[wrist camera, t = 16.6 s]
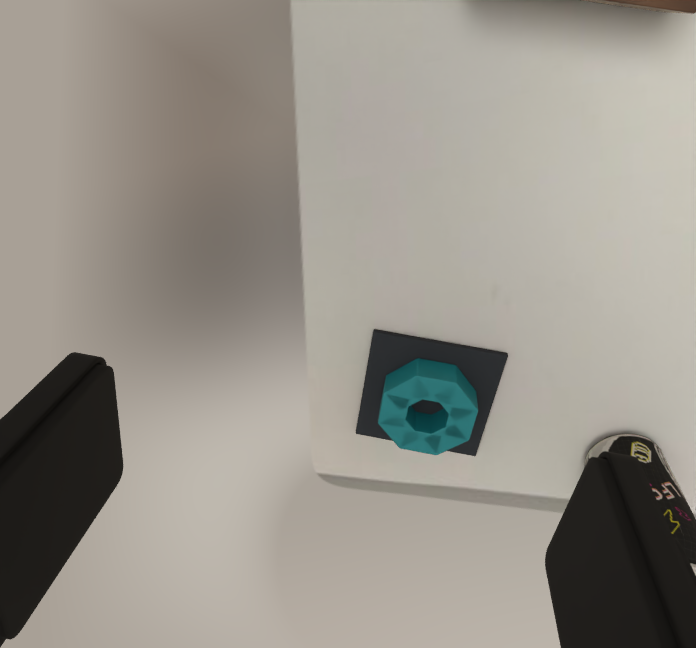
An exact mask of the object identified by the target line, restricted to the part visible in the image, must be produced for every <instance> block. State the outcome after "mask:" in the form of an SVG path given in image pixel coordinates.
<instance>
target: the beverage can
mask: <svg viewBox="0 0 696 648" xmlns="http://www.w3.org/2000/svg"><path fill="white" fill-rule="evenodd" d="M603 451H608V452H613V453H618V454H624V455H629V456H634V457H636V458H638V460H639V461H640V463H641V465H642V467H643V470H644V472H645V474H646V476H647V479H648V481H649V483H650V485H651V488H652V490H653V492H654V494H655V497H656V499H657V501H658V503H659V506H660V508H661V510H662V512H663V515H664V517H665V519H666V521H667V524H668V526H669V528H670V530H671V533H672V535H673V537H674V538H675V539H677V540H678V541H679V542H680V544H681V546H682V547H683V549H684V551H685V553H686V555H687V557H688V560H689V562H690V564H691V566H692V568H693V571H694V573H695V575H696V519H695V517H694V515H693V513H692V511H691V509H690V507H689V505H688V503H687V501H686V499H685V497H684V495H683V493H682V491H681V489H680V487H679V485H678V483H677V481H676V479H675V477H674V475H673V473H672V471H671V469H670V467H669V465H668V463H667V461H666V459H665V457H664V455H663V453H662V451H661V449H660V448H659V447H658V446H657V445H656V444H655V443H654V442H653V441H651V440H650V439H648V438H645V437H643V436H639V435H633V434H621V435H615V436H612V437H609V438H606V439H604V440H602V441H600V442H599V443H597V444H596V445H595V446H593V448H592V449H591V450H590V451H589V453H588V454H587V456H586V460H585V466H586V464H587V462H588V460H589V459H590V458H591V457H597V458H598V456H599V455H600V453H602V452H603Z"/></svg>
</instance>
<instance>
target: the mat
mask: <svg viewBox="0 0 696 648" xmlns="http://www.w3.org/2000/svg"><path fill="white" fill-rule="evenodd" d="M507 357H508V354H507V353H504V352H498V351H493V350H487V349H482V348H476V347H470V346H465V345H459V344H454V343H448V342H442V341H437V340H431V339H426V338H420V337H414V336H409V335H403V334H398V333H392V332H386V331H381V330H375V329H374V331H373V337H372V342H371V348H370V354H369V360H368V365H367V371H366V377H365V383H364V388H363V394H362V400H361V406H360V411H359V417H358V423H357V429H356V434H361V435H366V436H371V437H376V438H382V439H387V440H392V439H391V438H390V436H389V435H388V434H387V433H386V432H385V431H384V430H383V428H382V427H381V426H380V425H379V424H378V419H379V411H380V404H381V399H382V394H383V389H384V384H385V379H386V375H388V374H390V373H391V372H393V371H395V370H397V369H399V368H401V367H402V366H404V365H406V364H408V363H410V362H411V361H413V360H415V359H418V358H420V359H426V360H431V361H437V362H442V363H448V364H453V365H456V366H457V367H458V368H459V370H460V371H461V372H462V374H463V375H464V376H465V377H466V379H467V380H468V381H469V383H470V384H471V385H472V386H473V388H474V389H475V390H476V394H477V404H478V413H477V416H476V420H475V423H474V426H473V429H472V433H471V436H470V439H469V440H468V441H466V442H464V443H462V444H460V445H458V446H455V447H453V448H451V449H449V450H447V451H451V452H456V453H461V454H466V455H472V456H476V453H477V450H478V447H479V443H480V440H481V437H482V434H483V431H484V428H485V425H486V422H487V419H488V416H489V413H490V409H491V406H492V403H493V400H494V397H495V394H496V391H497V388H498V385H499V382H500V379H501V375H502V372H503V369H504V366H505V363H506V360H507ZM411 406H412V407H413V409H414V410H415V411H416V412H420V413H426V414H431V415H432V414H434V413H436V412H438V411H440V410H442V409H444V407H443V406H442V405H441V404H440V403H439V402H434V401H429V400H423V399H422V400H420V401H418V402H416V403H414V404H412V405H411ZM392 441H393V440H392Z"/></svg>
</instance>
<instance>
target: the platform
mask: <svg viewBox="0 0 696 648" xmlns="http://www.w3.org/2000/svg"><path fill="white" fill-rule="evenodd" d="M582 1H589V2H596V3H603V4H610V5H617V6H624V7H631V8H638V9H645V10H652V11H659V12H667V13H692V14H694V13H696V0H582Z"/></svg>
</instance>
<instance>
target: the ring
mask: <svg viewBox="0 0 696 648" xmlns="http://www.w3.org/2000/svg"><path fill="white" fill-rule="evenodd" d="M422 399H423V400H429V401H434V402H439V403H440V404H441V405H442V406H443V407H444V409H442V410H440V411H438V412H436V413H434V414H432V415H431V414H426V413H420V412H416V411H415V410H414V409H413V407H412V406H411V405H412V404H414V403H416V402H418V401H420V400H422ZM477 413H478V404H477V394H476V390H475V389H474V388H473V386H472V385H471V384H470V383H469V381H468V380H467V379H466V377H465V376H464V375H463V374H462V372H461V371H460V370H459V368H458V367H457V366H456V365H453V364H448V363H442V362H437V361H431V360H426V359H420V358H418V359H415V360H413V361H411V362H410V363H408V364H406V365H404V366H402V367H401V368H399V369H397V370H395V371H393V372H391V373H390V374H388V375H386V379H385V384H384V389H383V394H382V399H381V404H380V411H379V419H378V424H379V425H380V426H381V427H382V428H383V430H384V431H385V432H386V433H387V434H388V435H389V436H390V438H391V439H392V440H393V441H394V442H395V443H396V444H397V446H398V447H399V448H401V449H407V450H412V451H417V452H422V453H428V454H433V455H438V454H440V453H442V452H445V451H447V450H449V449H451V448H453V447H455V446H458V445H460V444H462V443H464V442H466V441H468V440H469V439H470V436H471V433H472V429H473V426H474V423H475V420H476V416H477Z"/></svg>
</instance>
